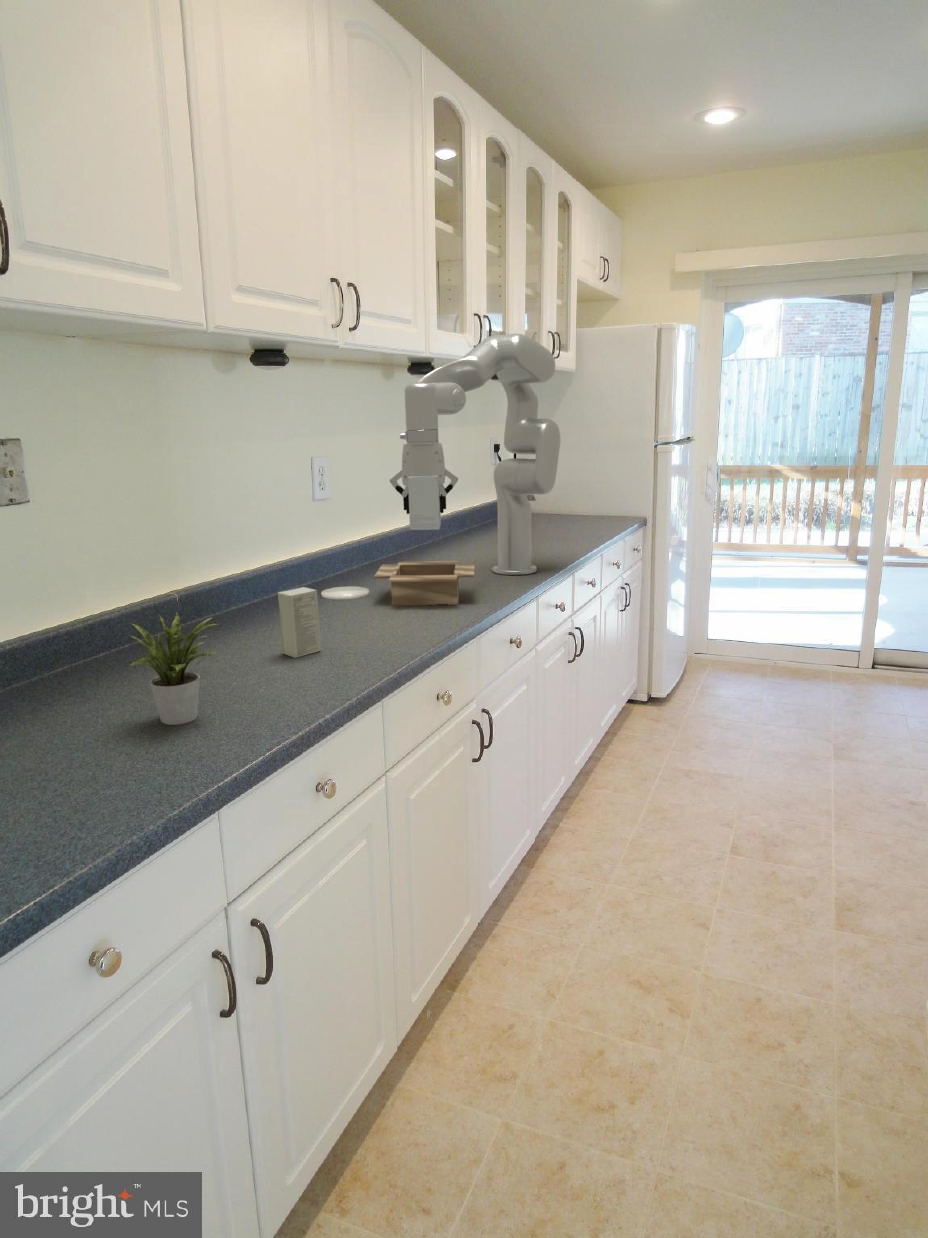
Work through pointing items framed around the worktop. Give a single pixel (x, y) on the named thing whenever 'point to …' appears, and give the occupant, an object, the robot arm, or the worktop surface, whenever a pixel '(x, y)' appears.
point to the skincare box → (299, 621)
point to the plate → (345, 593)
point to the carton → (425, 581)
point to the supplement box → (424, 503)
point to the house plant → (174, 672)
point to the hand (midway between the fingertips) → (425, 512)
